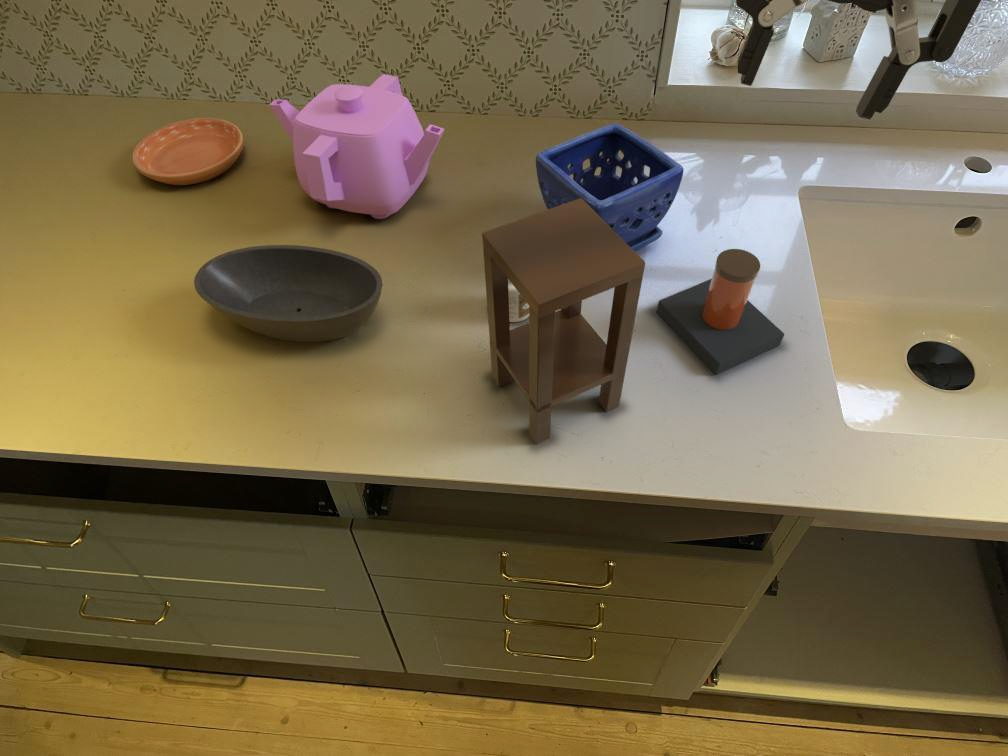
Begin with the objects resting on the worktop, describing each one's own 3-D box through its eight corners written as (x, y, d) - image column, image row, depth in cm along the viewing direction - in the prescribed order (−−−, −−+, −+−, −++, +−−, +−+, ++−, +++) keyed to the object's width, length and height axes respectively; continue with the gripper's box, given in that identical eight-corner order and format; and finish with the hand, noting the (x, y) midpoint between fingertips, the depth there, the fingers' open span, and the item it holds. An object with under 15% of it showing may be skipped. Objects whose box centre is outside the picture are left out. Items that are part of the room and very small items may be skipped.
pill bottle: (529, 325, 76) (529, 276, 70) (492, 321, 77) (489, 272, 71) (535, 299, 79) (535, 249, 73) (499, 295, 79) (497, 246, 73)
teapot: (455, 209, 90) (444, 106, 79) (330, 250, 86) (298, 147, 74) (406, 143, 101) (389, 44, 90) (292, 176, 97) (259, 76, 85)
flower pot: (530, 231, 87) (530, 151, 78) (608, 196, 91) (617, 117, 82) (590, 288, 80) (598, 207, 70) (672, 247, 84) (690, 167, 75)
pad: (779, 345, 73) (785, 333, 71) (715, 375, 71) (719, 364, 69) (716, 286, 79) (720, 274, 78) (655, 312, 77) (658, 300, 75)
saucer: (210, 123, 107) (203, 105, 105) (269, 157, 100) (262, 139, 98) (121, 167, 100) (111, 149, 97) (177, 207, 93) (168, 189, 90)
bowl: (239, 276, 83) (221, 237, 78) (404, 294, 80) (396, 255, 75) (194, 345, 76) (171, 308, 71) (374, 369, 73) (363, 331, 68)
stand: (619, 407, 68) (645, 262, 53) (536, 445, 66) (538, 304, 50) (570, 344, 74) (581, 197, 58) (492, 377, 71) (481, 232, 56)
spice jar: (749, 322, 73) (769, 268, 66) (717, 336, 72) (735, 282, 65) (723, 297, 75) (741, 243, 69) (692, 311, 74) (707, 257, 68)
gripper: (827, -237, 34) (706, 85, 44) (1106, -170, 33) (914, 143, 43) (811, -221, 39) (707, 60, 50) (1048, -165, 38) (891, 111, 49)
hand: (803, 99), depth 46 cm, fingers open, 8 cm apart
